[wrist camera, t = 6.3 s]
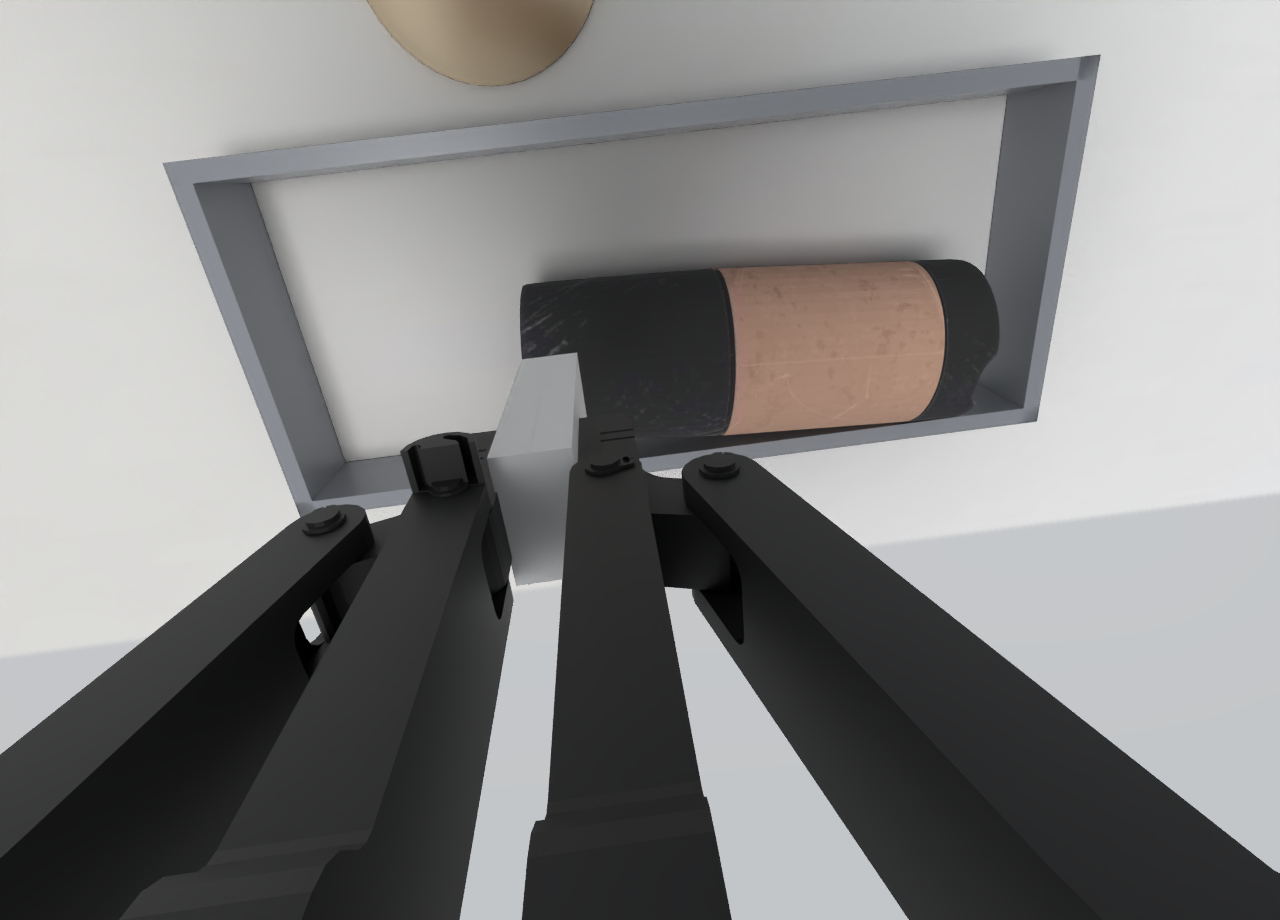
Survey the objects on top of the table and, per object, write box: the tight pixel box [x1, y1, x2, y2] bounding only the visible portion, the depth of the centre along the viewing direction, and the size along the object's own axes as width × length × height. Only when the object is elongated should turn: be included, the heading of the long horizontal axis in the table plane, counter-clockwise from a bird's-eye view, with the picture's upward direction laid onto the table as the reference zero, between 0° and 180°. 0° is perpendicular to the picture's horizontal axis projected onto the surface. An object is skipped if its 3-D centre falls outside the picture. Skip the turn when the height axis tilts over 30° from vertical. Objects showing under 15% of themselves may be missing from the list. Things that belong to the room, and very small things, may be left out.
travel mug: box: [520, 259, 1000, 439], centre depth 29 cm, size 8×8×20 cm
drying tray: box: [163, 55, 1100, 517], centre depth 29 cm, size 37×16×4 cm, turn 96°
